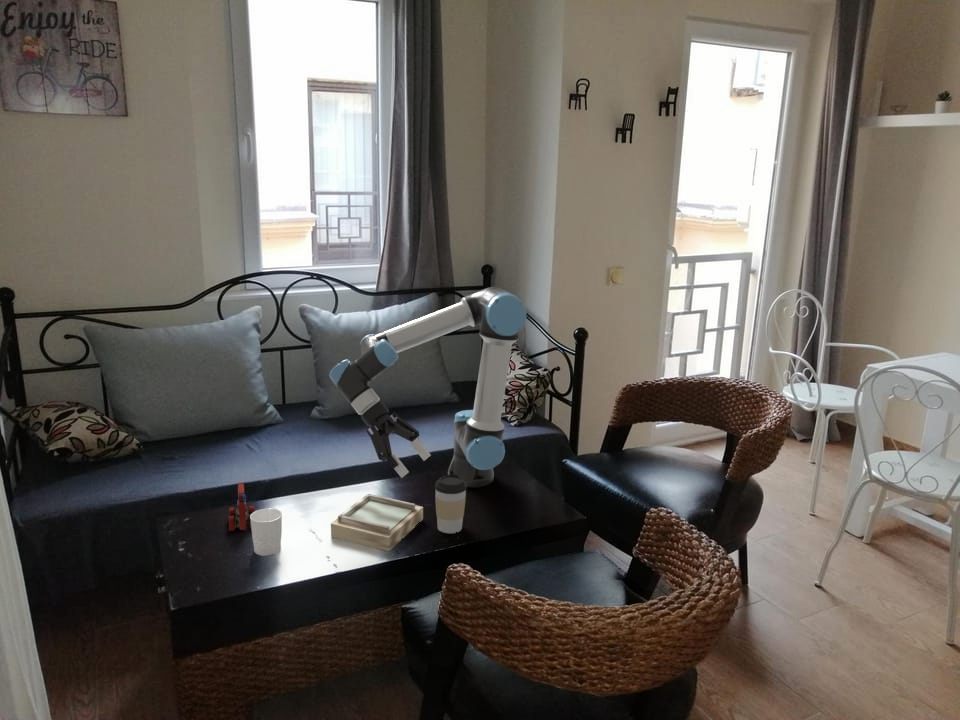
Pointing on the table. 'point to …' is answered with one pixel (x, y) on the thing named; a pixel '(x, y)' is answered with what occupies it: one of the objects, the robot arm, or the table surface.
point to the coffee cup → (450, 503)
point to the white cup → (266, 531)
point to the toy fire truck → (240, 512)
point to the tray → (377, 521)
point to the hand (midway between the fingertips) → (416, 466)
